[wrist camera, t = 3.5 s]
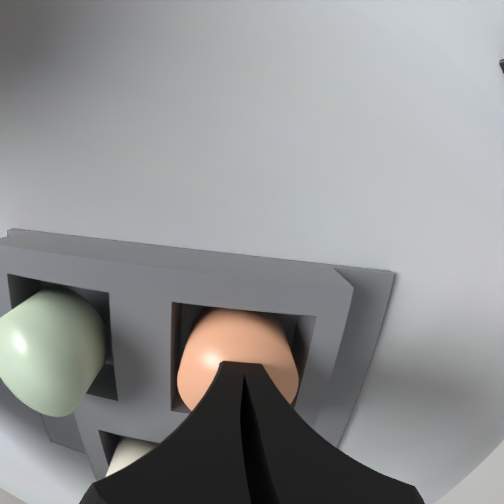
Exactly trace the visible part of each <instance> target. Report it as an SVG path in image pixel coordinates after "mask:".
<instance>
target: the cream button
mask: <svg viewBox="0 0 504 504" xmlns="http://www.w3.org/2000/svg"><path fill="white" fill-rule="evenodd" d="M158 444H159V443H156V442H151V441H145V440H140V439H135V438H131V437H126V438H123V439H122V440H121V441H120V442H119V443H118V445H117V447H116V450H115V453H114V455H113V458H112V461H111V463H110V466H109V469H108V472H107V474H106V477H107V476H109V475H111V474H113V473H115V472H117V471H119V470H121V469H123V468H124V467H126V466H128V465H130V464H131V463H133V462H134V461H136V460H137V459H139V458H140V457H142V456H143V455H145V454H146V453H148V452H149V451H150V450H152V449H153V448H154V447H156V446H157V445H158Z"/></svg>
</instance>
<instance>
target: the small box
mask: <svg viewBox="0 0 504 504" xmlns="http://www.w3.org/2000/svg"><path fill="white" fill-rule="evenodd" d="M500 66H501V68H502V71H503V73H504V59H502V60H500Z"/></svg>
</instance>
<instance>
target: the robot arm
mask: <svg viewBox="0 0 504 504" xmlns="http://www.w3.org/2000/svg"><path fill="white" fill-rule="evenodd" d="M79 504H425V503H424V501H423V499H422V497H421V495H420V494H419V492H418V491H417V489H416V488H415V486H412V485H409V484H406V483H404V482H401V481H398V480H396V479H393V478H390V477H388V476H385V475H383V474H381V473H379V472H377V471H375V470H373V469H371V468H369V467H367V466H365V465H363V464H361V463H359V462H358V461H356V460H354V459H352V458H351V457H349V456H348V455H346V454H345V453H343V452H342V451H340V450H339V449H337V448H336V447H334V446H333V445H332V444H330V443H329V442H328V441H326V440H325V439H324V438H323V437H322V436H320V435H319V434H318V433H317V432H316V431H315V430H314V429H312V428H311V427H310V426H309V425H308V424H307V423H306V422H305V421H304V420H303V419H302V418H301V416H300V415H299V414H298V413H297V412H296V411H295V410H294V409H293V407H292V406H291V405H290V404H289V403H288V401H287V400H286V399H285V397H284V396H283V395H282V394H281V392H280V391H279V389H278V388H277V387H276V385H275V384H274V382H273V381H272V379H271V378H270V376H269V375H268V373H267V371H266V370H265V368H264V366H263V365H262V364H260V363H246V362H234V361H224V360H223V361H222V362H220V363H219V367H218V370H217V373H216V375H215V377H214V379H213V381H212V383H211V384H210V386H209V388H208V389H207V391H206V392H205V394H204V396H203V397H202V399H201V400H200V401H199V402H198V404H197V405H196V406H195V408H194V409H193V410H192V412H191V413H190V414H189V415H188V416H187V418H186V419H185V420H184V421H183V422H182V423H181V424H180V425H179V426H178V427H177V428H176V429H175V430H174V431H173V432H172V433H171V434H170V435H169V436H167V437H166V438H165V439H164V440H163V441H162V442H161V443H159V444H158V445H157V446H156V447H154V448H153V449H152V450H150V451H149V452H148V453H146V454H145V455H143V456H142V457H140V458H139V459H137V460H136V461H134V462H133V463H131V464H130V465H128V466H126V467H124V468H123V469H121V470H119V471H117V472H115V473H113V474H111V475H109V476H107V477H105V478H103V479H101V480H98V481H96V482H94V483H92V485H91V486H90V487H89V489H88V490H87V492H86V493H85V494H84V496H83V498H82V500H81V501H80V503H79Z"/></svg>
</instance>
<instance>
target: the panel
mask: <svg viewBox="0 0 504 504" xmlns="http://www.w3.org/2000/svg"><path fill="white" fill-rule="evenodd" d="M394 275H395V274H394V273H392V272H391V271H386V270H377V269H368V268H358V267H349V266H340V265H331V264H322V263H312V262H303V261H294V260H285V259H276V258H267V257H258V256H249V255H240V254H231V253H222V252H213V251H204V250H195V249H186V248H177V247H169V246H160V245H151V244H142V243H134V242H125V241H116V240H107V239H99V238H90V237H82V236H73V235H64V234H56V233H47V232H39V231H30V230H22V229H14V228H13V229H10V230H7V237H4V238H1V239H0V318H1V317H2V316H4V315H5V314H7V313H8V312H10V311H11V310H12V309H14V308H15V307H17V306H18V305H20V304H21V303H23V302H24V301H26V300H27V299H29V298H30V297H32V296H33V295H35V294H36V293H38V292H39V291H41V290H42V289H44V288H47V287H51V286H59V287H64V288H68V289H70V290H73V291H74V292H76V293H78V294H80V295H81V296H82V297H84V298H85V299H86V300H87V301H88V302H89V303H90V304H91V305H92V306H93V307H94V308H95V310H96V311H97V312H98V314H99V315H100V317H101V318H102V320H103V322H104V324H105V327H106V330H107V333H108V337H109V354H108V357H107V360H106V362H105V363H104V365H103V366H102V368H101V370H100V371H99V373H98V374H97V376H96V377H95V379H94V381H93V382H92V384H91V385H90V387H89V389H88V390H87V392H86V393H85V395H84V397H83V398H82V400H81V402H80V403H79V405H78V407H77V408H76V409H75V411H74V412H72V413H71V414H69V415H67V416H63V417H53V416H48V415H45V414H42V413H40V415H41V418H42V420H43V423H44V426H45V428H46V431H47V434H48V436H49V439H50V441H52V442H54V443H57V444H60V445H63V446H65V447H68V448H71V449H74V450H77V451H80V452H84V453H87V456H88V459H89V462H90V464H91V467H92V470H93V472H94V475H95V477H96V480H97V481H98V480H101V479H103V478H105V477H106V474H107V472H108V469H109V466H110V463H111V461H112V458H113V455H114V453H115V450H116V447H117V445H118V443H119V442H120V441H121V440H122V439H123V438H126V437H131V438H135V439H140V440H145V441H151V442H156V443H161V442H162V441H163V440H164V439H165V438H166V437H167V436H169V435H170V434H171V433H172V432H173V431H174V430H175V429H176V428H177V427H178V426H179V425H180V424H181V423H182V422H183V421H184V420H185V419H186V418H187V416H188V415H189V414H190V413H191V412H192V411H191V410H190V409H189V408H188V407H187V406H186V404H185V403H184V401H183V400H182V398H181V396H180V393H179V390H178V385H177V377H178V371H179V368H180V364H181V360H182V357H183V353H184V349H185V346H186V342H187V339H188V335H189V332H190V328H191V326H192V323H193V321H194V320H195V318H196V317H197V316H198V315H199V314H200V312H202V311H203V310H204V309H205V308H207V307H208V306H211V307H220V308H229V309H239V310H249V311H260V312H271V313H274V314H275V315H276V316H277V317H278V319H279V320H280V322H281V324H282V325H283V328H284V331H285V334H286V338H287V341H288V344H289V347H290V350H291V353H292V356H293V360H294V363H295V366H296V369H297V372H298V389H297V393H296V395H295V397H294V399H293V401H292V403H291V404H290V405H291V406H292V407H293V409H294V410H295V411H296V412H297V413H298V414H299V415H300V416H301V418H302V419H303V420H304V421H305V422H306V423H307V424H308V425H309V426H310V427H311V428H312V429H314V430H315V431H316V432H317V433H318V434H319V435H320V436H322V437H323V438H324V439H325V440H326V441H328V442H329V443H330V444H332V445H333V446H334V447H337V445H338V443H339V441H340V439H341V436H342V434H343V432H344V429H345V427H346V425H347V422H348V420H349V417H350V415H351V412H352V410H353V407H354V405H355V402H356V400H357V397H358V394H359V392H360V389H361V386H362V383H363V381H364V378H365V375H366V372H367V369H368V366H369V363H370V360H371V357H372V354H373V351H374V348H375V345H376V342H377V338H378V335H379V332H380V328H381V325H382V321H383V318H384V314H385V311H386V307H387V303H388V299H389V295H390V291H391V287H392V283H393V279H394Z"/></svg>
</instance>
